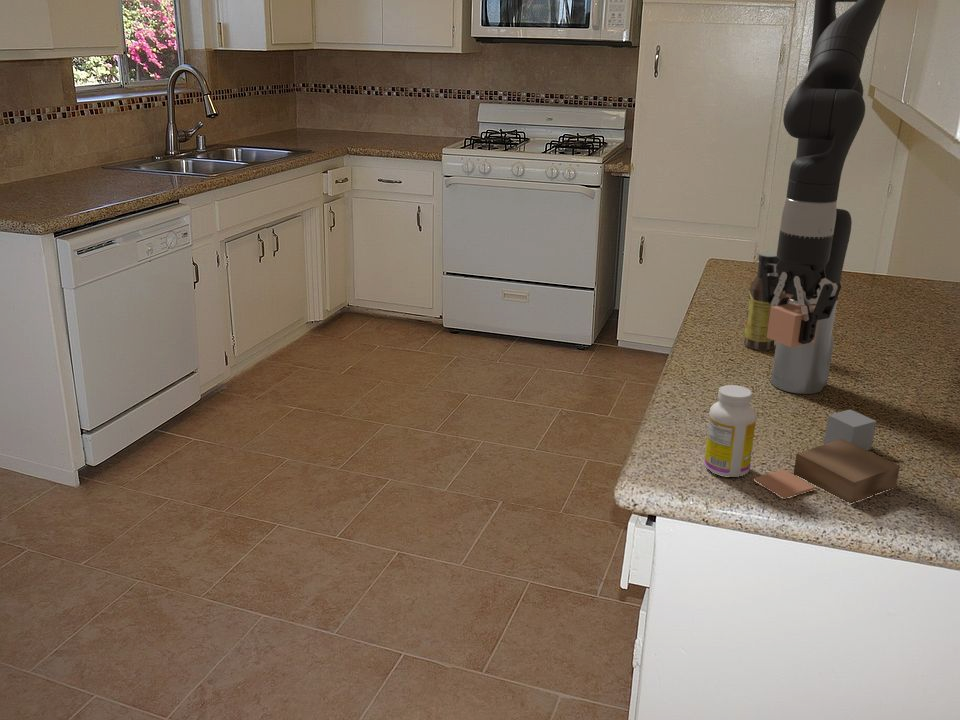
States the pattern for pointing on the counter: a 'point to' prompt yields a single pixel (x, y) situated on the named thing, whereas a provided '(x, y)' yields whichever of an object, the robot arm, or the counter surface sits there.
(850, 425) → the grey block
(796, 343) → the terracotta block
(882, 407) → the counter surface
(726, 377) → the counter surface
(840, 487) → the walnut block
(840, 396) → the counter surface
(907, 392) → the counter surface
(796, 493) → the tile
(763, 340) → the sauce bottle
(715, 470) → the supplement bottle
